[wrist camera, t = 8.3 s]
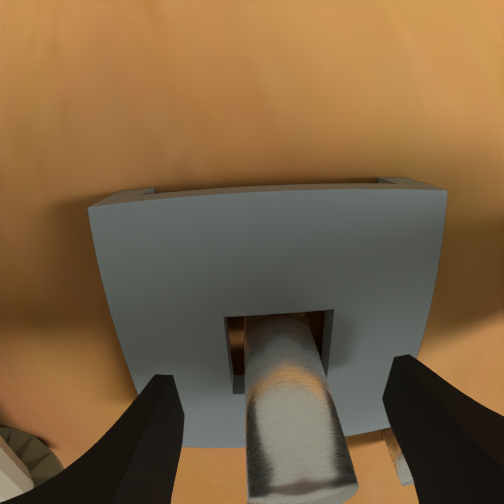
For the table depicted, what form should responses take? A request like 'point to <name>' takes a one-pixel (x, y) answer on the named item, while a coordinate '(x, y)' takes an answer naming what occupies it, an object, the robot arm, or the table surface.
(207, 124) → the table surface
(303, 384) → the long pin
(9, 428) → the spool
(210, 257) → the board
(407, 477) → the short pin
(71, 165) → the table surface
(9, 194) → the table surface
